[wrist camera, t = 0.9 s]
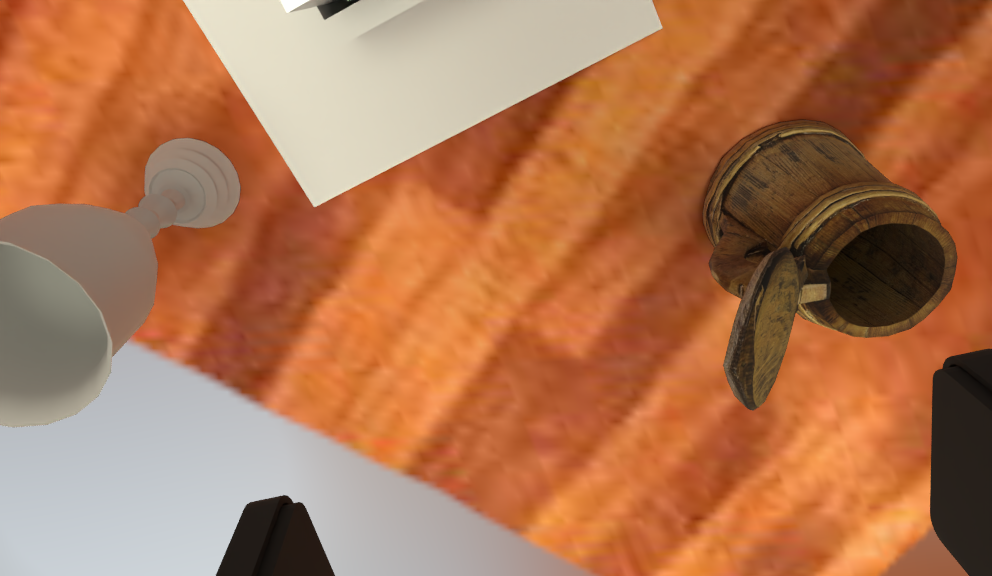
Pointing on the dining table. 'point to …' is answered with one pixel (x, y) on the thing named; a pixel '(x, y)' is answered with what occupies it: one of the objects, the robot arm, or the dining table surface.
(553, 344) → the dining table surface
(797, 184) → the wooden mug
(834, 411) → the dining table surface
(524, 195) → the dining table surface
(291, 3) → the column
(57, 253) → the chalice
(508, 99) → the stand
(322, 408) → the dining table surface
